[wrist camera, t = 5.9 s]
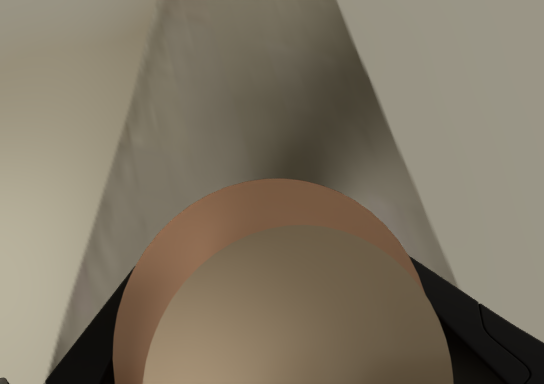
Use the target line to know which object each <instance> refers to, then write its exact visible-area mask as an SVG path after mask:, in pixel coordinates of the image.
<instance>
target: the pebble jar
mask: <svg viewBox="0 0 544 384" xmlns="http://www.w3.org/2000/svg"><path fill="white" fill-rule="evenodd" d="M113 368H114V378H115V384H454V382H453V372H452V365H451V358H450V354H449V350H448V345H447V341H446V338H445V335H444V332H443V330H442V327H441V324H440V321H439V319H438V317H437V315H436V313H435V311H434V309H433V307H432V305H431V303H430V301H429V300H428V298H427V297H426V295H425V292H424V289H423V287H422V284H421V281H420V279H419V276H418V273H417V271H416V269H415V267H414V265H413V263H412V262H411V260H410V258H409V256H408V254H407V253H406V251H405V250H404V248H403V247H402V245H401V244H400V242H399V241H398V239H397V238H396V237H395V236H394V235H393V234H392V232H391V231H390V230H389V229H388V228H387V226H386V225H385V224H384V223H383V222H381V221H380V220H379V219H378V218H377V217H376V216H375V215H374V214H373V213H372V212H370V211H369V210H368V209H366V208H365V207H363V206H362V205H361V204H359V203H358V202H356V201H355V200H353V199H351V198H349V197H347V196H345V195H344V194H342V193H340V192H338V191H335V190H332V189H330V188H327V187H325V186H322V185H319V184H314V183H310V182H306V181H302V180H293V179H260V180H254V181H247V182H243V183H239V184H235V185H232V186H228V187H225V188H223V189H221V190H218V191H216V192H214V193H211V194H209V195H207V196H205V197H204V198H202V199H200V200H198V201H197V202H195V203H193V204H192V205H190V206H189V207H187V208H186V209H185V210H183V211H182V212H181V213H180V214H178V215H177V216H176V217H174V218H173V219H172V220H171V221H170V222H169V223H168V224H167V225H166V226H165V227H164V228H163V229H162V230H161V231H160V232H159V233H158V234H157V236H156V237H155V238H154V239H153V241H152V242H151V243H150V245H149V246H148V247H147V248H146V250H145V251H144V253H143V254H142V256H141V258H140V259H139V261H138V263H137V264H136V266H135V268H134V269H133V272H132V274H131V276H130V278H129V281H128V283H127V285H126V287H125V290H124V293H123V296H122V299H121V303H120V306H119V309H118V313H117V319H116V325H115V331H114V340H113Z"/></svg>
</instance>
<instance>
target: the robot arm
mask: <svg viewBox="0 0 544 384" xmlns="http://www.w3.org/2000/svg"><path fill="white" fill-rule="evenodd" d="M408 256H409V255H408ZM409 258H410V260H411V262H412V263H413V265H414V267H415V269H416V271H417V273H418V276H419V279H420V281H421V284H422V287H423V289H424V292H425V295H426V297H427V298H428V300H429V301H430V303H431V305H432V307H433V309H434V311H435V313H436V315H437V317H438V319H439V321H440V324H441V327H442V330H443V332H444V335H445V338H446V341H447V345H448V350H449V354H450V358H451V365H452V372H453V382H454V384H544V343H543V342H541V341H540V340H538V339H536V338H535V337H533V336H531V335H530V334H528V333H526V332H525V331H523V330H521V329H519V328H518V327H516V326H515V325H513V324H511V323H510V322H508V321H507V320H505V319H504V318H502V317H500V316H499V315H497V314H496V313H494V312H493V311H491V310H490V309H488V308H487V307H485V306H484V305H482V304H478V302H477V301H476V300H475V299H473V298H472V297H470V296H468V295H467V294H465V293H464V292H463V291H461V290H460V289H458V288H457V287H455V286H454V285H452V284H451V283H449V282H448V281H446V280H445V279H443V278H442V277H440V276H439V275H437V274H436V273H434V272H433V271H431V270H430V269H428V268H427V267H425V266H424V265H422V264H421V263H419V262H418V261H416V260H415V259H413V258H412V257H410V256H409ZM134 268H135V267H134ZM134 268H133V269H134ZM133 269H132V270H131V272H130V273H129V274H128V275H127V277H126V278H125V279H124V281H123V282H122V283H121V284H120V286H119V287H118V288H117V290H116V291H115V292H114V293H113V295H112V296H111V297H110V299H109V300H108V301H107V302H106V304H105V305H104V306H103V308H102V309H101V310H100V311H99V313H98V314H97V315H96V316H95V318H94V319H93V320H92V322H91V323H90V324H89V325H88V327H87V328H86V329H85V331H84V332H83V333H82V334H81V336H80V337H79V338H78V340H77V341H76V342H75V343H74V345H73V346H72V347H71V349H70V350H69V351H68V352H67V354H66V355H65V356H64V357H63V359H62V360H61V361H60V363H59V364H58V365H57V366H56V368H55V369H54V370H53V372H52V373H51V374H50V375H49V377H48V378H47V379H46V381H45V383H46V384H115V378H114V368H113V340H114V331H115V325H116V319H117V313H118V309H119V306H120V303H121V299H122V296H123V293H124V290H125V287H126V285H127V283H128V281H129V278H130V276H131V274H132V272H133Z"/></svg>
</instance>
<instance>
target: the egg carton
mask: <svg viewBox="0 0 544 384" xmlns="http://www.w3.org/2000/svg"><path fill="white" fill-rule="evenodd" d="M0 384H9V382H8V381H7V379H6V378H0Z"/></svg>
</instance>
